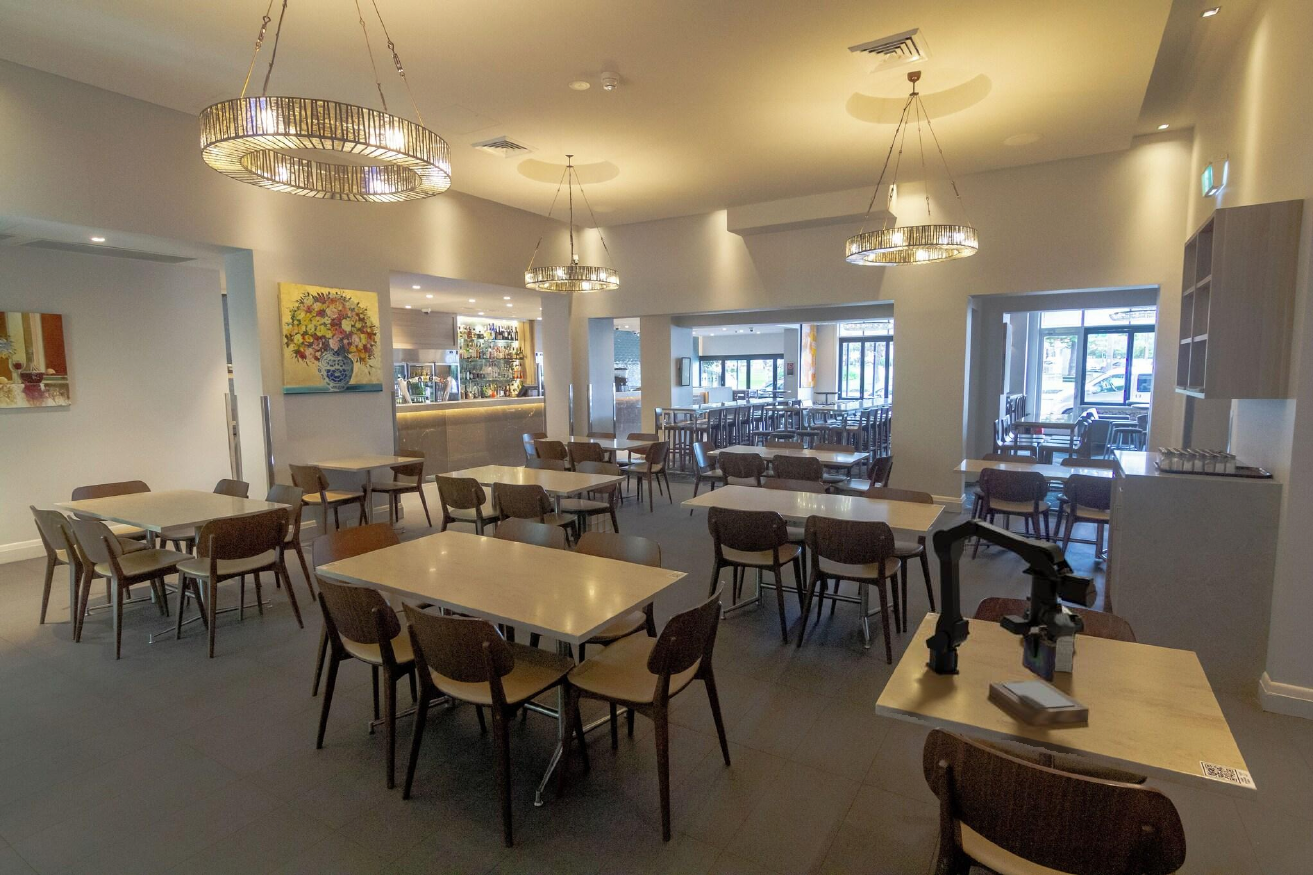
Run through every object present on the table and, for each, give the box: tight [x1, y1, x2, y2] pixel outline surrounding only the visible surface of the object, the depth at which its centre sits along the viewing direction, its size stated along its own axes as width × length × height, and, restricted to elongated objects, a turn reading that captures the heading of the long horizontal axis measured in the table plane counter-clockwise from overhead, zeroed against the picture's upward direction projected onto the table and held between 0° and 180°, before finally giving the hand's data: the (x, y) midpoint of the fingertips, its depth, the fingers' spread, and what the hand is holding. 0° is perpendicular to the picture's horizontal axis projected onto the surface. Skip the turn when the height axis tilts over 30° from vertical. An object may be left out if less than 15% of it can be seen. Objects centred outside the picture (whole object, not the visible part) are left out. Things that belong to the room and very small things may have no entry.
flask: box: [1021, 631, 1056, 683], centre depth 159 cm, size 9×3×11 cm, turn 9°
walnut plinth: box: [988, 679, 1090, 726], centre depth 161 cm, size 15×15×3 cm
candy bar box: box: [1054, 603, 1076, 674], centre depth 184 cm, size 11×5×16 cm, turn 168°
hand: (1039, 657), depth 160 cm, fingers closed on flask, 3 cm apart
